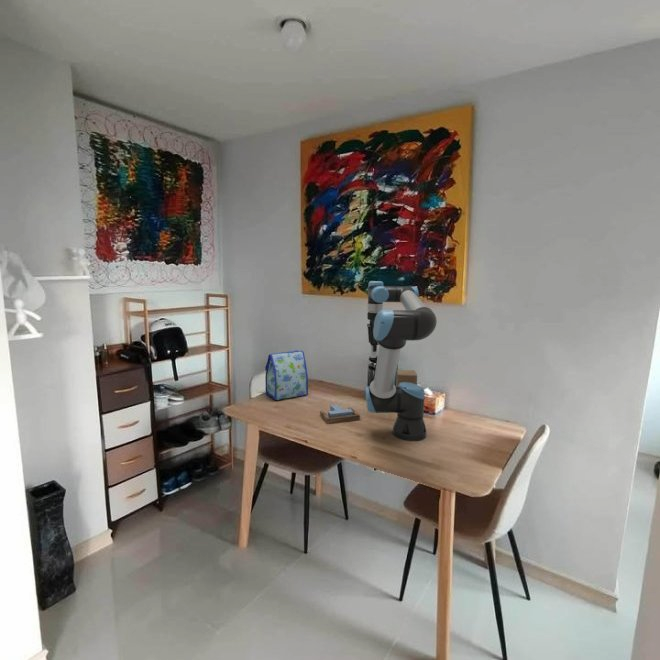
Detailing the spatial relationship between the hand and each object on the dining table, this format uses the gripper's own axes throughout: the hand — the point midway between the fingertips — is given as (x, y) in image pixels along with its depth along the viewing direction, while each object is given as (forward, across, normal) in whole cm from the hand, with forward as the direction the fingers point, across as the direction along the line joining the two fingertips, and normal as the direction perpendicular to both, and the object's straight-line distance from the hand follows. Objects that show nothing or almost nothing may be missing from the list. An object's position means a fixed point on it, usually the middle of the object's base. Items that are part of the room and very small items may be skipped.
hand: (373, 357), depth 199 cm
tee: (+30, +1, +19) cm, 35 cm away
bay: (+29, -2, +19) cm, 35 cm away
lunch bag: (+30, +39, +37) cm, 61 cm away
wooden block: (+30, 0, -20) cm, 36 cm away
